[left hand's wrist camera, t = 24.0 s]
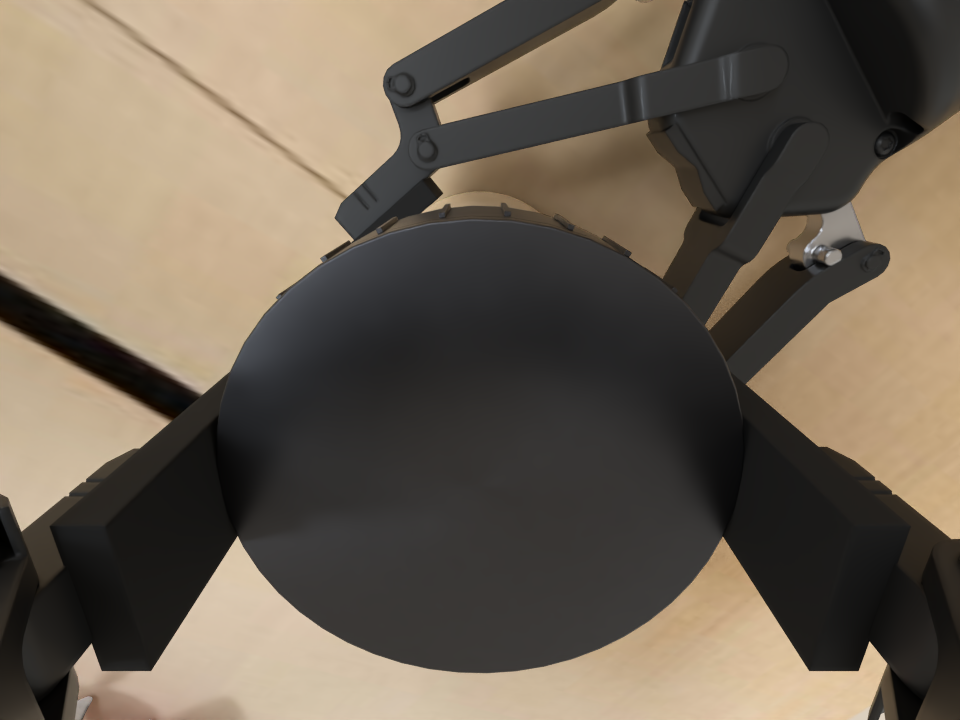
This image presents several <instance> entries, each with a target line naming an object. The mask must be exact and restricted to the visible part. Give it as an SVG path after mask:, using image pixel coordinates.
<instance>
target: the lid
mask: <svg viewBox="0 0 960 720" xmlns="http://www.w3.org/2000/svg"><path fill="white" fill-rule="evenodd" d="M631 254H632V253H631V252H630V251H628V250H626V249H625V248H623V247H622V246H620V245H618V244H617V243H615V242H614V241H612V240H610V239H609V238H607V237H606V236H604V237H603V238H602V239H600V238H599V237H597V236H596V235H594V234H592V233H590V232H587V231H585V230H583V229H581V228H579V227H577V226H575V225H573V224H572V223H570V222H569V221H567V220H566V219H565V218H563V217H562V216H560V215H558V214H555V215H554V218H553V217H550V216H547V215H544V214H541V213H538V212H532V211H527V210H521V209H515V208H509V207H508V206H507V204H506V203H501V206H500V207H498V206H463V207H453V208H451V204H445V205H444V207H443V208H442V209H437V210H433V211H429V212H425V213H421V214H416V215H412V216H408V217H406V218H403V219H401V220H398V218H397V216H396V217H393V218H391V219H390V220H389V221H387V222H386V223H384V224H383V225H381V226H380V227H378V228H377V229H376V230H374V231H373V232H371V233H369V234H367V235H366V236H364V237H362V238H360V239H359V240H357V241H355V242H353V243H351V242H350V241H347V242H345V243H344V244H342V245H340V246H339V247H337V248H336V249H334V250H332V251H331V252H329V253H328V254H326V255H324V256H323V257H322V258H320V259H321V260H322V262H323V263H321V264H320V265H318V266H317V267H316V268H314V269H313V270H312V271H310V272H309V273H308V274H307V275H305V276H304V277H303V278H301V279H300V280H299V281H298V282H296V283H295V284H293V285H292V286H290V287H289V288H287V289H286V290H284V291H283V292H281V293H280V294H279V295H278V296H277V297H276V298H277V299H278V300H277V301H276V302H275V303H274V304H273V305H272V306H271V307H270V309H269V310H268V311H267V312H266V313H265V314H264V315H263V316H262V318H261V319H260V321H259V322H258V324H257V325H256V327H255V328H254V329H253V331H252V332H251V334H250V335H249V337H248V338H247V339H246V341H245V342H244V344H243V346H242V348H241V350H240V352H239V354H238V357H237V359H236V361H235V363H234V365H233V367H232V369H231V371H230V373H229V377H228V380H227V383H226V386H225V390H224V393H223V396H222V400H221V403H220V410H219V417H218V424H217V432H216V454H217V469H218V475H219V480H220V485H221V490H222V495H223V499H224V502H225V505H226V508H227V511H228V514H229V517H230V520H231V523H232V525H233V527H234V529H235V531H236V533H237V535H238V537H239V539H240V541H241V543H242V545H243V547H244V549H245V550H246V552H247V553H248V555H249V556H250V558H251V559H252V561H253V562H254V564H255V565H256V567H257V568H258V570H259V571H260V572H261V573H262V574H263V576H264V577H265V578H266V579H267V580H268V581H269V583H270V584H271V585H272V586H273V587H274V588H275V589H276V591H277V592H278V593H279V594H280V595H281V596H283V597H284V598H285V599H286V600H287V601H288V602H289V603H290V604H291V605H293V606H294V607H295V608H296V609H297V610H298V611H299V612H300V613H302V614H303V615H305V616H306V617H307V618H309V619H310V620H312V621H313V622H314V623H316V624H317V625H319V626H320V627H321V628H323V629H325V630H326V631H328V632H330V633H332V634H333V635H335V636H337V637H339V638H340V639H342V640H344V641H346V642H348V643H350V644H352V645H354V646H357V647H359V648H361V649H364V650H366V651H368V652H370V653H373V654H375V655H379V656H382V657H385V658H388V659H391V660H394V661H397V662H400V663H404V664H409V665H414V666H418V667H423V668H427V669H434V670H442V671H451V672H462V673H496V672H511V671H520V670H526V669H532V668H538V667H544V666H548V665H552V664H555V663H559V662H563V661H567V660H570V659H574V658H576V657H579V656H582V655H584V654H587V653H590V652H592V651H595V650H598V649H600V648H602V647H604V646H606V645H608V644H610V643H612V642H614V641H616V640H618V639H620V638H622V637H624V636H626V635H628V634H629V633H631V632H632V631H634V630H635V629H637V628H639V627H640V626H642V625H643V624H645V623H647V622H648V621H650V620H651V619H652V618H653V617H655V616H656V615H657V614H658V613H660V612H661V611H662V610H663V609H665V608H666V607H667V606H668V605H670V604H671V603H672V602H673V601H674V600H675V599H676V598H677V597H678V596H679V595H680V594H681V593H682V592H683V591H684V590H685V589H686V588H687V587H688V586H689V585H690V584H691V583H692V581H693V580H694V579H695V577H696V576H697V575H698V574H699V572H700V571H701V570H702V568H703V567H704V566H705V564H706V563H707V562H708V561H709V559H710V557H711V556H712V554H713V552H714V550H715V549H716V547H717V545H718V544H719V542H720V540H721V538H722V537H723V535H724V533H725V530H726V528H727V525H728V523H729V520H730V518H731V516H732V513H733V511H734V508H735V504H736V500H737V496H738V492H739V487H740V483H741V478H742V471H743V461H744V451H745V450H744V432H743V418H742V413H741V409H740V404H739V399H738V395H737V390H736V387H735V384H734V382H733V379H732V377H731V374H730V371H729V369H728V366H727V364H726V361H725V359H724V357H723V355H722V353H721V352H720V350H719V348H718V346H717V345H716V343H715V341H714V340H713V338H712V336H711V334H710V332H709V331H708V329H707V328H706V327H705V325H704V324H703V323H702V322H701V321H700V319H699V318H698V317H697V316H696V314H695V313H694V312H693V311H692V309H691V308H690V307H689V306H688V305H687V303H686V302H685V301H684V300H683V299H682V298H681V297H679V296H678V295H677V294H676V292H678V290H677V289H676V288H675V287H674V286H672V285H671V284H669V283H668V282H666V281H665V280H663V279H662V278H660V277H659V276H657V275H656V274H654V273H653V272H651V271H650V270H648V269H647V268H644V267H642V266H641V265H639V264H638V263H636V262H635V261H633V260H632V259H630V258H629V256H630V255H631Z"/></svg>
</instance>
